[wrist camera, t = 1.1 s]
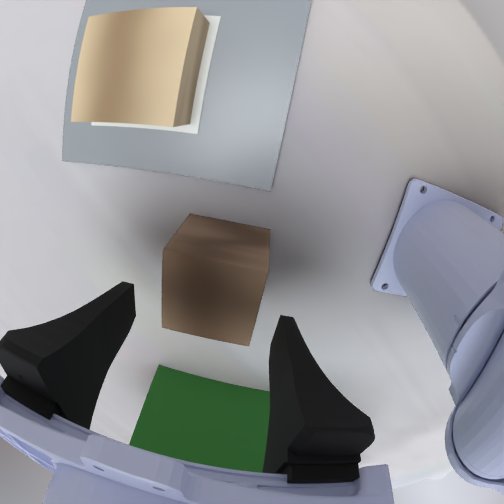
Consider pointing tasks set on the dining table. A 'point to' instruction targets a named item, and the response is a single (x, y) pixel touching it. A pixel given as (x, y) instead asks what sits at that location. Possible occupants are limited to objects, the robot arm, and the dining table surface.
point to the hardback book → (204, 421)
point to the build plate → (208, 97)
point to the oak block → (140, 66)
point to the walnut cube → (214, 278)
